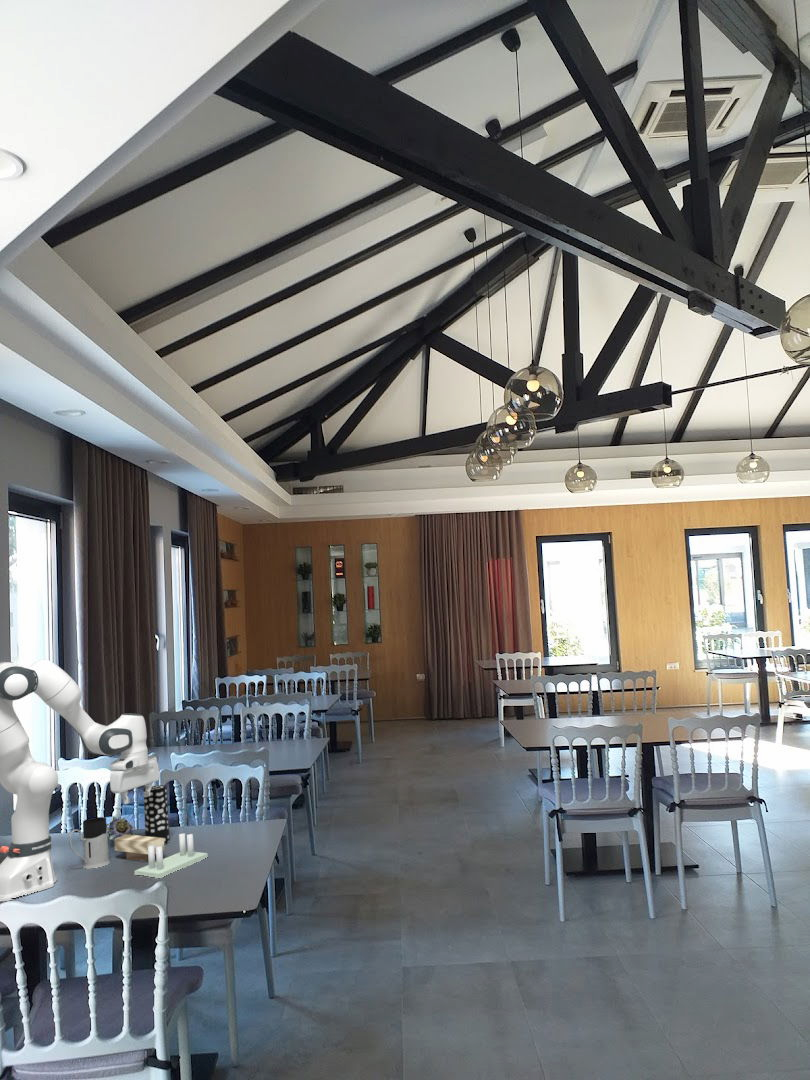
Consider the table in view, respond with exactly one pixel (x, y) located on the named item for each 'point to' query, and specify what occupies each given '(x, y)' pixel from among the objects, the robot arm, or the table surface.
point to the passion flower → (119, 828)
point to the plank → (137, 843)
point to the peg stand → (171, 859)
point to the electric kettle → (94, 843)
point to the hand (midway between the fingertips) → (137, 800)
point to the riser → (136, 856)
